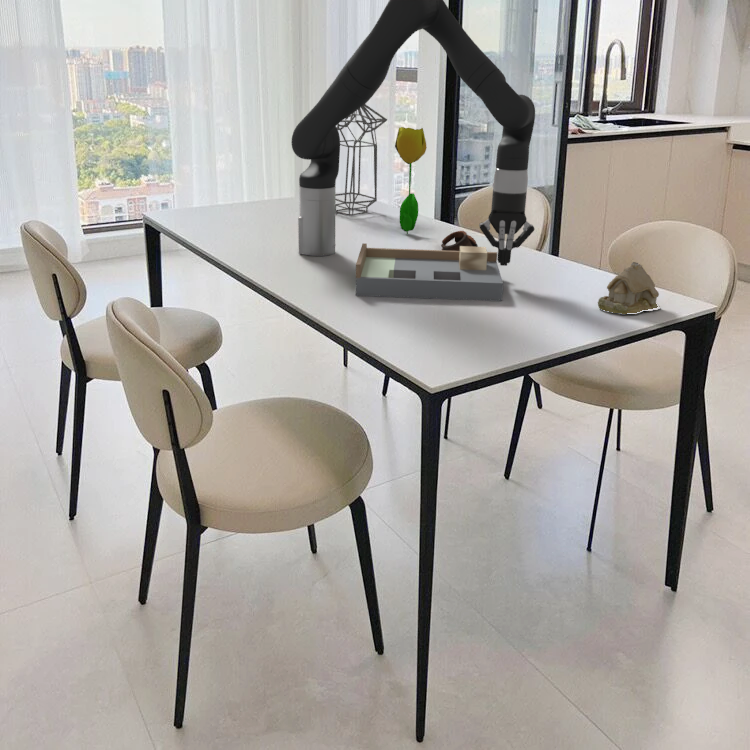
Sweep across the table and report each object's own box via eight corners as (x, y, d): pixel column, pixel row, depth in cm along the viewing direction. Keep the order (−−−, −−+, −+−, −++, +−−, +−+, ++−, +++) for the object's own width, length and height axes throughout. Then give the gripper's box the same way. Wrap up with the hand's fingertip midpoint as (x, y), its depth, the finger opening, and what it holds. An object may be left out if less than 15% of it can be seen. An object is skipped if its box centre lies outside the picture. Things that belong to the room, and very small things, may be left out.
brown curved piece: (483, 266, 214) (471, 239, 210) (449, 279, 217) (436, 253, 213) (481, 243, 224) (469, 217, 219) (449, 256, 226) (436, 231, 222)
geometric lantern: (354, 206, 282) (358, 96, 269) (385, 215, 271) (391, 101, 258) (317, 210, 272) (319, 97, 259) (347, 220, 262) (352, 102, 248)
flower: (416, 238, 239) (420, 128, 228) (389, 235, 241) (392, 127, 230) (425, 232, 247) (429, 126, 235) (399, 229, 249) (402, 124, 238)
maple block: (459, 269, 192) (460, 252, 191) (458, 262, 198) (459, 246, 196) (486, 270, 192) (487, 253, 191) (484, 263, 198) (485, 246, 196)
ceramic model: (621, 296, 190) (627, 252, 186) (668, 307, 182) (675, 262, 179) (587, 308, 180) (593, 263, 177) (635, 321, 173) (642, 273, 169)
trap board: (355, 295, 185) (355, 264, 183) (362, 271, 204) (362, 243, 201) (501, 300, 184) (504, 269, 181) (494, 276, 202) (497, 248, 200)
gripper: (481, 190, 185) (475, 267, 191) (541, 193, 184) (534, 270, 191) (479, 185, 192) (473, 259, 198) (537, 187, 191) (530, 261, 198)
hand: (503, 264), depth 195 cm, fingers closed
